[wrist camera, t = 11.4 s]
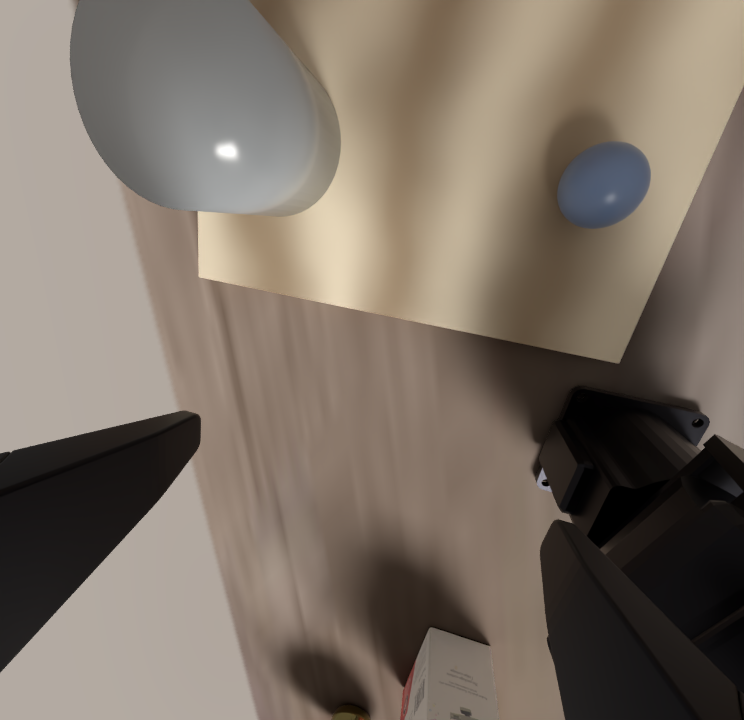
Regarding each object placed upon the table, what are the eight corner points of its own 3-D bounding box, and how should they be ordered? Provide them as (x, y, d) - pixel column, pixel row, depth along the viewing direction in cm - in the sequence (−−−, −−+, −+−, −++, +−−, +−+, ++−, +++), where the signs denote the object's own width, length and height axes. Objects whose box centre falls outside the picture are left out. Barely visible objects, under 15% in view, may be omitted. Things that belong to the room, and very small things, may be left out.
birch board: (924, -367, 10) (984, -440, 9) (610, 356, 18) (621, 365, 17) (206, -351, 13) (183, -406, 12) (209, 275, 21) (196, 277, 20)
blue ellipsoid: (640, 155, 14) (686, 138, 12) (610, 234, 16) (646, 235, 13) (562, 145, 15) (589, 125, 12) (538, 222, 16) (558, 221, 13)
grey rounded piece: (350, 67, 15) (279, -50, 9) (332, 226, 18) (266, 226, 11) (211, 50, 16) (53, -70, 10) (211, 205, 18) (85, 192, 12)
